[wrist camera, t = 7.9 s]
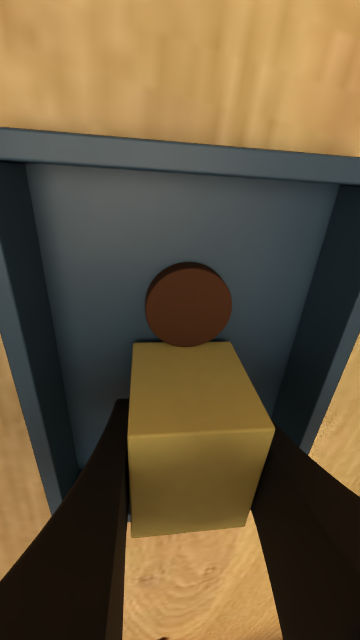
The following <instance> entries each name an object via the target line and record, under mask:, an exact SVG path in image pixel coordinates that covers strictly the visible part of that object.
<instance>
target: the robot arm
mask: <svg viewBox="0 0 360 640" xmlns="http://www.w3.org/2000/svg"><path fill="white" fill-rule="evenodd" d="M129 402H130V398H123V399H117V400H116V401H115V404H114V407H113V410H112V413H111V415H110V418H109V420H108V422H107V425H106V427H105V429H104V431H103V433H102V435H101V437H100V439H99V441H98V443H97V445H96V447H95V449H94V451H93V453H92V454H91V456H90V458H89V460H88V461H87V463H86V465H85V467H84V468H83V470H82V472H81V473H80V475H79V477H78V478H77V480H76V482H75V483H74V485H73V486H72V488H71V489H70V491H69V492H68V494H67V495H66V497H65V498H64V500H63V501H62V503H61V504H60V505H59V507H58V508H57V510H56V511H55V512H54V514H53V515H52V517H51V518H50V519H49V521H48V522H47V524H46V525H45V526H44V528H43V529H42V530H41V532H40V533H39V534H38V535H37V537H36V538H35V539H34V541H33V542H32V543H31V544H30V546H29V547H28V548H27V549H26V550H25V552H24V553H23V554H22V555H21V557H20V558H19V559H18V560H17V562H16V563H15V564H14V565H13V567H12V568H11V569H10V570H9V572H8V573H7V574H6V575H5V576H4V577H3V579H2V580H1V581H0V640H122V630H123V601H124V573H125V547H126V531H127V521H128V512H129V503H130V491H129V465H128V438H127V436H128V419H129ZM271 421H272V420H271ZM272 423H273V425H274V427H275V432H274V435H273V439H272V442H271V445H270V448H269V451H268V454H267V458H266V461H265V464H264V467H263V470H262V473H261V476H260V480H259V483H258V486H257V489H256V492H255V495H254V498H253V502H252V505H251V511H252V514H253V517H254V521H255V524H256V527H257V531H258V535H259V539H260V542H261V546H262V550H263V554H264V558H265V562H266V566H267V570H268V574H269V579H270V583H271V587H272V591H273V595H274V600H275V604H276V609H277V613H278V618H279V622H280V627H281V631H282V636H283V640H360V497H359V496H358V495H356V494H355V493H353V492H352V491H351V490H349V489H348V488H347V487H345V486H344V485H343V484H342V483H340V482H339V481H338V480H336V479H335V478H334V477H333V476H332V475H330V474H329V473H328V472H327V471H325V470H324V469H323V468H322V467H321V466H319V465H318V464H317V463H316V462H315V461H314V460H312V459H311V458H310V457H309V456H308V455H307V454H306V453H305V452H304V451H303V450H302V449H300V448H299V447H298V446H297V445H296V444H295V443H294V442H293V441H292V440H291V439H290V438H289V437H288V436H287V435H286V434H285V433H284V432H283V431H282V430H281V429H280V428H279V427H278V426H277V425H276V424H275V423H274V422H273V421H272Z"/></svg>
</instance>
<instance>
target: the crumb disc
mask: <svg viewBox="0 0 360 640" xmlns="http://www.w3.org/2000/svg"><path fill="white" fill-rule="evenodd" d="M231 311H232V298H231V294H230V291H229V289H228V287H227V285H226V284H225V282H224V281H223V280H222V278H221V277H220V276H219V275H218V274H217V273H216V272H215V271H214V270H213V269H211V268H210V267H208V266H206V265H203V264H200V263H196V262H183V263H177V264H174V265H172V266H169V267H167V268H166V269H164V270H162V271H161V272H160V273H159V274H158V275H157V276H156V277H155V278H154V279H153V280H152V282H151V283H150V285H149V287H148V290H147V293H146V297H145V314H146V319H147V322H148V325H149V327H150V329H151V330H152V331H153V333H154V334H155V335H156V336H157V337H158V338H160V339H161V340H162V341H164V342H166V343H168V344H170V345H174V346H178V347H193V346H198V345H202V344H204V343H206V342H208V341H210V340H212V339H213V338H215V337H216V336H217V335H218V334H219V333H220V332H221V331H222V330H223V329H224V328H225V326H226V325H227V323H228V321H229V318H230V316H231Z"/></svg>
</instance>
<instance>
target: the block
mask: <svg viewBox="0 0 360 640" xmlns="http://www.w3.org/2000/svg"><path fill="white" fill-rule="evenodd" d="M274 432H275V427H274V425H273V423H272V421H271V419H270V417H269V415H268V413H267V412H266V410H265V408H264V406H263V404H262V402H261V400H260V398H259V396H258V394H257V392H256V390H255V388H254V386H253V385H252V383H251V381H250V379H249V377H248V375H247V373H246V371H245V369H244V367H243V365H242V363H241V361H240V359H239V358H238V356H237V354H236V352H235V350H234V348H233V346H232V344H231V342H206V343H204V344H202V345H198V346H193V347H178V346H174V345H170V344H168V343H166V342H145V343H134V344H133V352H132V369H131V386H130V402H129V419H128V436H127V438H128V465H129V491H130V518H131V536H132V538H140V537H149V536H159V535H169V534H178V533H188V532H198V531H207V530H217V529H227V528H236V527H244V526H245V524H246V520H247V517H248V514H249V511H250V508H251V505H252V502H253V498H254V495H255V492H256V489H257V486H258V483H259V480H260V476H261V473H262V470H263V467H264V464H265V461H266V458H267V454H268V451H269V448H270V445H271V442H272V439H273V435H274Z"/></svg>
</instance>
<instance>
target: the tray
mask: <svg viewBox="0 0 360 640" xmlns="http://www.w3.org/2000/svg"><path fill="white" fill-rule="evenodd" d="M183 262H196V263H200V264H203V265H206V266H208V267H210V268H211V269H213V270H214V271H215V272H216V273H217V274H218V275H219V276H220V277H221V278H222V280H223V281H224V282H225V284H226V285H227V287H228V289H229V291H230V294H231V298H232V311H231V316H230V318H229V321H228V323H227V325H226V326H225V328H224V329H223V330H222V331H221V332H220V333H219V334H218V335H217V336H216V337H215V338H213V339H212V340H210V341H208V342H231V344H232V346H233V348H234V350H235V352H236V354H237V356H238V358H239V359H240V361H241V363H242V365H243V367H244V369H245V371H246V373H247V375H248V377H249V379H250V381H251V383H252V385H253V386H254V388H255V390H256V392H257V394H258V396H259V398H260V400H261V402H262V404H263V406H264V408H265V410H266V412H267V413H268V415H269V417H270V419H271V420H272V421H273V422H274V423H275V424H276V425H277V426H278V427H279V428H280V429H281V430H282V431H283V432H284V433H285V434H286V435H287V436H288V437H289V438H290V439H291V440H292V441H293V442H294V443H295V444H296V445H297V446H298V447H299V448H300V449H302V450H303V451H304V452H305V453H306V454H307V455H308V454H309V452H310V450H311V447H312V445H313V442H314V440H315V438H316V435H317V433H318V430H319V428H320V426H321V423H322V421H323V419H324V416H325V414H326V411H327V409H328V407H329V404H330V402H331V399H332V397H333V395H334V392H335V390H336V387H337V385H338V383H339V380H340V378H341V376H342V373H343V371H344V368H345V366H346V364H347V361H348V359H349V356H350V354H351V352H352V349H353V347H354V345H355V342H356V340H357V337H358V335H359V333H360V157H351V156H340V155H328V154H316V153H304V152H292V151H281V150H269V149H257V148H245V147H233V146H222V145H210V144H198V143H186V142H174V141H162V140H151V139H139V138H127V137H115V136H103V135H92V134H80V133H68V132H56V131H44V130H33V129H21V128H9V127H0V333H1V337H2V341H3V344H4V348H5V351H6V355H7V358H8V362H9V366H10V369H11V373H12V376H13V380H14V383H15V387H16V391H17V394H18V398H19V401H20V405H21V408H22V412H23V416H24V419H25V423H26V426H27V430H28V433H29V437H30V441H31V444H32V448H33V451H34V455H35V458H36V462H37V466H38V469H39V473H40V476H41V480H42V483H43V487H44V491H45V494H46V498H47V501H48V505H49V508H50V512H51V516H52V515H53V514H54V512H55V511H56V510H57V508H58V507H59V505H60V504H61V503H62V501H63V500H64V498H65V497H66V495H67V494H68V492H69V491H70V489H71V488H72V486H73V485H74V483H75V482H76V480H77V478H78V477H79V475H80V473H81V472H82V470H83V468H84V467H85V465H86V463H87V461H88V460H89V458H90V456H91V454H92V453H93V451H94V449H95V447H96V445H97V443H98V441H99V439H100V437H101V435H102V433H103V431H104V429H105V427H106V425H107V422H108V420H109V418H110V415H111V413H112V410H113V407H114V404H115V401H116V400H117V399H123V398H130V386H131V369H132V352H133V344H134V343H145V342H164V341H162V340H161V339H160V338H158V337H157V336H156V335H155V334H154V333H153V331H152V330H151V329H150V327H149V325H148V322H147V319H146V314H145V297H146V293H147V290H148V287H149V285H150V283H151V282H152V280H153V279H154V278H155V277H156V276H157V275H158V274H159V273H160V272H161V271H162V270H164V269H166V268H167V267H169V266H172V265H174V264H177V263H183ZM250 510H251V508H250ZM127 522H131V518H130V503H129V512H128V521H127Z"/></svg>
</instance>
